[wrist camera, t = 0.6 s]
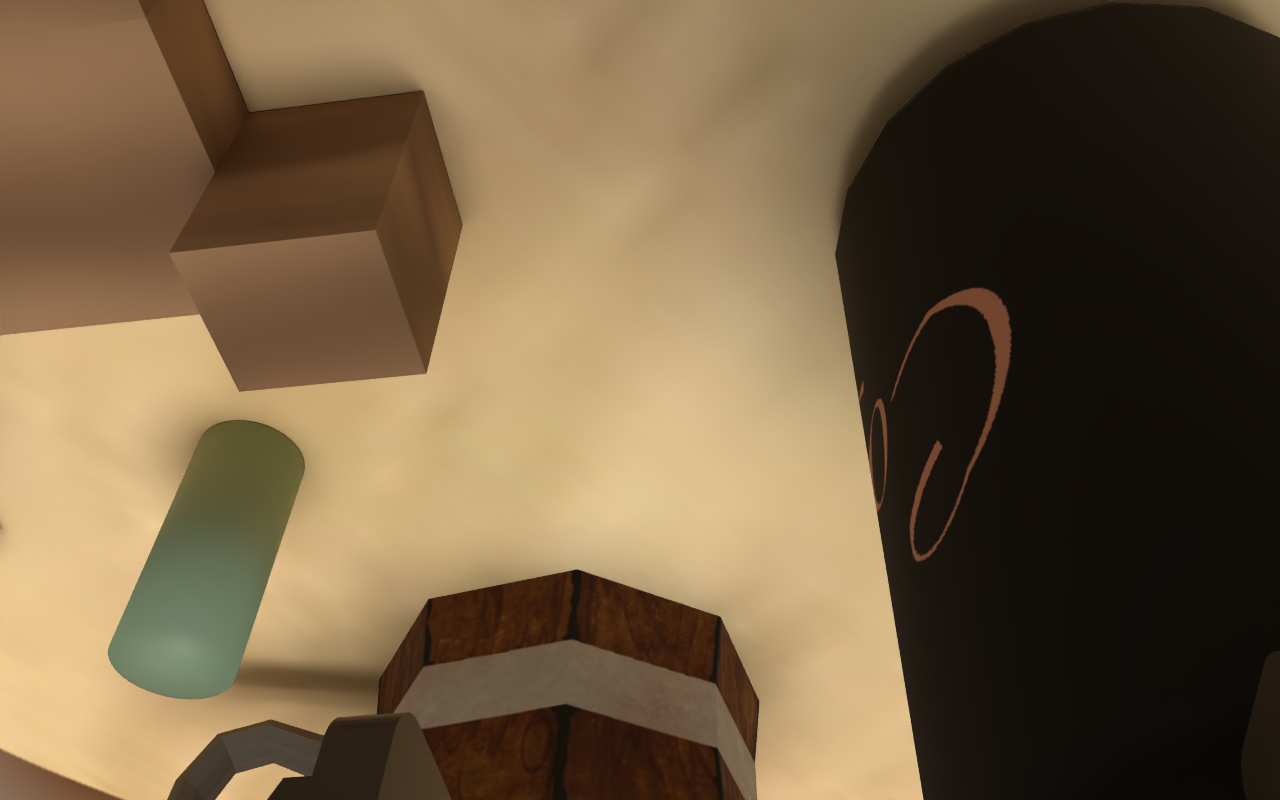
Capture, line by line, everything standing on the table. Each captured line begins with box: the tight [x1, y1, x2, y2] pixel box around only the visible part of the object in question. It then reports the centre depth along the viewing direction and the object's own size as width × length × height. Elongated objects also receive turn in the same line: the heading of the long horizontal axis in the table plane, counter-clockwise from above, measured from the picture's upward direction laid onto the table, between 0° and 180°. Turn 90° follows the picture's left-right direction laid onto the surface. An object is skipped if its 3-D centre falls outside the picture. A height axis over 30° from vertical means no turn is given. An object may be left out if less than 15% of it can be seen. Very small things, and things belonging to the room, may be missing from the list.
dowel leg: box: [108, 421, 305, 699], centre depth 30 cm, size 3×3×7 cm
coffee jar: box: [835, 3, 1280, 800], centre depth 20 cm, size 11×11×18 cm
